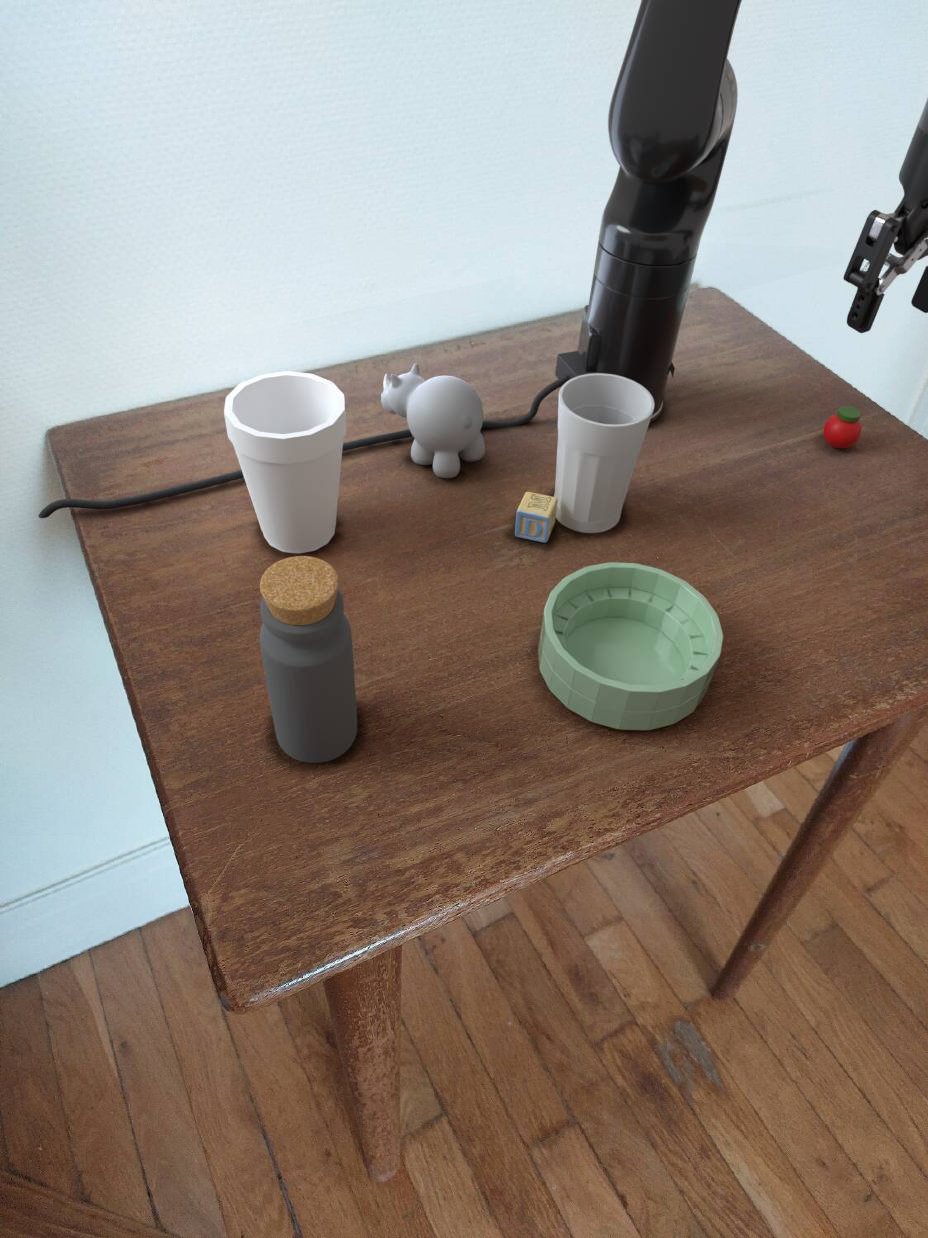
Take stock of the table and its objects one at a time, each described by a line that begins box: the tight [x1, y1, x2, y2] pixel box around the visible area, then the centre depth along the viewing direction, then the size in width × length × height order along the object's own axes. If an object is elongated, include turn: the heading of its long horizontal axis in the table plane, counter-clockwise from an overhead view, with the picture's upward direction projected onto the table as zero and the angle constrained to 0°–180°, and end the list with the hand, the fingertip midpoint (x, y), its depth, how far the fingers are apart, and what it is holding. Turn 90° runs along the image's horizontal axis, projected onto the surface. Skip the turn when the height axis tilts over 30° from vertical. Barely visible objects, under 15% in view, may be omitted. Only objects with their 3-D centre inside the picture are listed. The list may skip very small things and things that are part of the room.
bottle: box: [259, 555, 358, 764], centre depth 60 cm, size 6×6×15 cm
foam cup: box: [223, 370, 347, 555], centre depth 76 cm, size 10×9×13 cm
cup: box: [553, 373, 655, 534], centre depth 80 cm, size 8×8×12 cm
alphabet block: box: [514, 491, 558, 544], centre depth 81 cm, size 3×3×3 cm
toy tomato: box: [822, 405, 862, 449], centre depth 92 cm, size 4×4×4 cm
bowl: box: [537, 561, 724, 731], centre depth 69 cm, size 13×13×5 cm
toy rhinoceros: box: [380, 362, 486, 479], centre depth 87 cm, size 7×12×8 cm, turn 45°
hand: (889, 318), depth 83 cm, fingers open, 8 cm apart
